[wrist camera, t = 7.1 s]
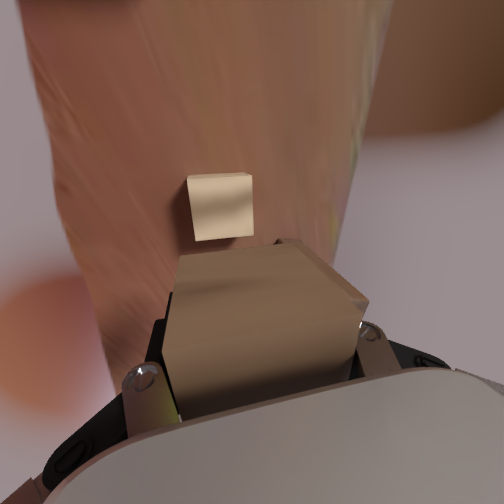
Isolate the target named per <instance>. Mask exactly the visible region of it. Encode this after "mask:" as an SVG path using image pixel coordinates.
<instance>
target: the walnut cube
mask: <svg viewBox="0 0 504 504" xmlns="http://www.w3.org/2000/svg"><path fill="white" fill-rule="evenodd" d="M362 317H363V313H362V312H361V311H360V310H359V309H358V308H357V307H356V306H355V305H354V304H353V303H352V302H351V301H350V300H349V299H348V298H347V297H346V296H345V295H344V294H343V293H342V292H341V291H340V290H339V289H338V288H337V287H336V286H335V285H334V284H333V283H332V282H331V281H330V280H329V279H328V278H327V277H326V276H325V275H324V274H323V273H322V272H321V271H320V270H319V269H318V268H317V267H316V266H315V265H314V264H313V263H312V262H311V261H310V260H309V259H308V258H307V257H306V256H305V255H304V254H303V253H302V252H301V251H300V250H299V249H298V248H297V247H296V246H295V245H294V244H293V243H283V244H275V245H266V246H258V247H250V248H241V249H233V250H224V251H216V252H207V253H199V254H191V255H182V256H180V257H179V262H178V268H177V273H176V278H175V284H174V289H173V294H172V300H171V305H170V310H169V315H168V321H167V326H166V331H165V337H164V342H163V347H162V354H163V358H164V361H165V365H166V368H167V372H168V375H169V378H170V382H171V385H172V389H173V392H174V396H175V399H176V403H177V406H178V410H179V413H180V417H181V420H182V422H183V421H187V420H191V419H195V418H198V417H202V416H206V415H210V414H214V413H218V412H222V411H226V410H230V409H234V408H238V407H242V406H246V405H250V404H254V403H258V402H262V401H266V400H271V399H275V398H279V397H283V396H287V395H291V394H295V393H299V392H303V391H307V390H312V389H316V388H320V387H324V386H328V385H332V384H337V383H341V382H345V381H348V379H349V375H350V371H351V366H352V362H353V357H354V353H355V348H356V344H357V339H358V335H359V330H360V326H361V321H362Z"/></svg>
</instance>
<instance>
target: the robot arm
mask: <svg viewBox="0 0 504 504" xmlns="http://www.w3.org/2000/svg"><path fill="white" fill-rule="evenodd" d="M172 294H173V292H170V295H169V300H168V305H167V310H166V314H165V318H164V319H158V320H156V321H155V323H154V327H153V331H152V335H151V338H150V342H149V346H148V350H147V354H146V358H145V361H144V363H141V364H139V365H137V366H135V367H134V368H132V369H131V370H130V371H129V372H128V373H127V374H126V376H125V377H124V379H123V381H122V387H121V389H122V392H121V393H120V394H119V395H118V396H117V397H116V398H114V399H113V400H112V401H111V402H110V403H109V404H107V405H106V406H105V407H104V408H103V409H102V410H100V411H99V412H98V413H97V414H96V415H95V416H94V417H92V418H91V419H90V420H89V421H88V422H86V423H85V424H84V425H83V426H82V427H81V428H80V429H78V430H77V431H76V432H75V433H74V434H73V435H71V436H70V437H69V438H68V439H67V440H66V441H64V442H63V443H62V444H61V445H60V446H59V447H58V448H57V449H56V450H55V451H54V453H53V454H52V455H51V457H50V458H49V460H48V461H47V463H46V466H45V467H44V470H43V472H42V473H41V474H40V475H38V476H37V477H36V478H35V479H34V480H33V479H32V478H30V479H28V480H27V481H26V482H25V483H24V484H23V485H22V486H21V487H19V488H18V489H17V490H16V491H15V492H13V493H12V494H11V495H10V496H9V497H8V498H6V499H5V500H4V501H3V502H2V503H1V504H504V385H502V384H499V383H496V382H493V381H490V380H487V379H485V378H482V377H479V376H476V375H473V374H471V373H468V372H465V371H462V370H459V369H455V370H452V369H451V368H450V367H449V366H448V365H447V364H446V363H445V362H444V361H442V360H440V359H439V358H437V357H435V356H432V355H430V354H427V353H424V352H422V351H419V350H416V349H413V348H410V347H407V346H404V345H401V344H399V343H396V342H393V341H390V340H387V338H386V335H385V333H384V332H383V330H382V329H381V328H379V327H378V326H377V325H375V324H373V323H370V322H367V321H361V326H360V330H359V335H358V339H357V344H356V348H355V353H354V357H353V362H352V366H351V371H350V375H349V379H348V381H345V382H341V383H337V384H332V385H328V386H324V387H320V388H316V389H312V390H307V391H303V392H299V393H295V394H291V395H287V396H283V397H279V398H275V399H271V400H266V401H262V402H258V403H254V404H250V405H246V406H242V407H238V408H234V409H230V410H226V411H222V412H218V413H214V414H210V415H206V416H202V417H198V418H195V419H191V420H187V421H183V422H182V420H181V417H180V413H179V410H178V406H177V403H176V399H175V396H174V392H173V389H172V385H171V382H170V378H169V375H168V372H167V368H166V365H165V361H164V358H163V354H162V347H163V342H164V337H165V331H166V326H167V321H168V315H169V310H170V305H171V300H172Z"/></svg>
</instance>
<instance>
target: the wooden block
mask: <svg viewBox="0 0 504 504" xmlns="http://www.w3.org/2000/svg"><path fill="white" fill-rule="evenodd" d="M283 243H293V244H294V245H295V246H296V247H297V248H298V249H299V250H300V251H301V252H302V253H303V254H304V255H305V256H306V257H307V258H308V259H309V260H310V261H311V262H312V263H313V264H314V265H315V266H316V267H317V268H318V269H319V270H320V271H321V272H322V273H323V274H324V275H325V276H326V277H327V278H328V279H329V280H330V281H331V282H332V283H333V284H334V285H335V286H336V287H337V288H338V289H339V290H340V291H341V292H342V293H343V294H344V295H345V296H346V297H347V298H348V299H349V300H350V301H351V302H352V303H353V304H354V305H355V306H356V307H357V308H358V309H359V310H360V311H361V312H362V313H363V316H364V313H365V311H366V309H367V307H368V304H369V300H368V299H367V298H366V297H365V296H364V295H363V294H362V293H360V292H359V291H358V290H357V289H356V288H355V287H353V286H352V285H351V284H350V283H349V282H348V281H347V280H345V279H344V278H343V277H342V276H341V275H340V274H339V273H337V272H336V271H335V270H334V269H333V268H332V267H331V266H329V265H328V264H327V263H326V262H325V261H324V260H323V259H321V258H320V257H319V256H318V255H317V254H316V253H315V252H313V251H312V250H311V249H310V248H309V247H308V246H306V245H305V244H304V243H303V242H302V241H300V240H290V239H278V242H277V244H283ZM362 318H363V317H362Z"/></svg>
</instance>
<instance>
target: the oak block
mask: <svg viewBox="0 0 504 504" xmlns="http://www.w3.org/2000/svg"><path fill="white" fill-rule="evenodd" d="M187 185H188V191H189V198H190V205H191V212H192V219H193V226H194V233H195V240H196V241H201V240H211V239H221V238H230V237H240V236H250V235H254V234H253V199H252V175H249V174H247V173H245V172H243V173H223V174H204V175H188V177H187Z"/></svg>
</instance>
